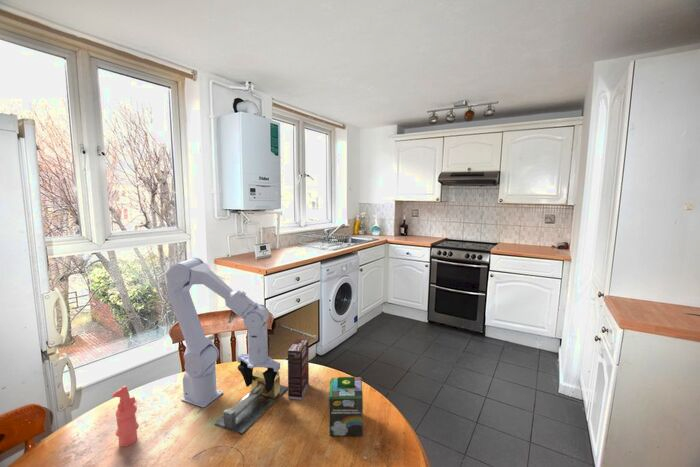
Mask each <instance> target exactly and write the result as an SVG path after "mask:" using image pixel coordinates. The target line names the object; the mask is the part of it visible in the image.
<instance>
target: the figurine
mask: <svg viewBox="0 0 700 467" xmlns="http://www.w3.org/2000/svg"><path fill="white" fill-rule="evenodd" d="M115 397H116V398H119V403H118V404H117V409H116V411H115V417H116V426H117V429H116V430H115V436H116V437H118V438H117V439H118V446H119V447H122V448H125V447H129V446H131V445H133V444H134V443H135V442H136V441H137V439H138V431H137V430H138V429H139V428H140V424H139V423H138V422H137V421H138V420H137V417H136V413H137V409H138V408H137V405H136V402H137V401H136V397H135V396H131V395H130V393H129V390H128V385H123V386H122V387H121V388H119V389H118V390H116V391H115V392H114V393H112V395H111V398H115Z"/></svg>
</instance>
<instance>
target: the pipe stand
mask: <svg viewBox="0 0 700 467" xmlns="http://www.w3.org/2000/svg"><path fill="white" fill-rule="evenodd" d="M276 375H277V376H280V372H279V371H278V372H277V374H276ZM264 391H266V383H265V382H263V381H261V382H260V383H259V384H258V385H257V386H256V387H255V388H254V389H253V390H250V391H249V392H248V393H247V394H246V395H244V396H243V397H242V398H241V399H239V400H238V402H236V403H234V405H233V406H231V407H230V408H225V410H223V415H222V416H221V417H220V418H219V419H217V420H216V422H214V425H215V426H217V427H220V428H223V429H225V430H228V431H231V432H233V433H237V434H240V435H244V434H245V433H246V431H247V430H248V429H249V428H250V427H252V425H253V424H254V423H256V421H257V420H259V419H260V417H262V415H264V414H265V412H266V411H267V410H268V409H269V408H270V407H271V406H272V405H273V404H274V403H275V402H276V401H277V400H278V399H279V398H280V397H281V396H282V395H283V394H284V393H285V392H286V391H288V386H286V385H282V384H280V393H279V394H278V395H277V396H276V397H275V398H272V397H269V396H265V395H262V393H263V392H264Z"/></svg>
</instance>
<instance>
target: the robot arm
mask: <svg viewBox="0 0 700 467" xmlns="http://www.w3.org/2000/svg"><path fill="white" fill-rule="evenodd" d="M165 277H166V279H167V286H166V287H167V289H166V290H167V295H168V298H169V301H170V303H171V305H172V309H173V312H174V314H175V317H176V319H177V323H178V325H179V328H180V330H181V333H182V337H183V339H184V342H185V344H186V348H185V351H184V353H183V359H184V371H185V372H184V373H183V377H182V390H183V397H181V401H183V402H186V403H189V404H192V405H195V406H198V407H201V408H205V407H207V406H208V405H209V404H210V403H212V402H213V401H214V400H216V399H217V398H219V397H220V396H221V395H222V394H223V393H224V391H223V390H221V389H218V388H217V387H218V386H217V374H216V373H217V371H216V361H217V360H218V358H219V357H220V351H219V349H218V348H217V346H216V345H215V344H214V343H213V340H212V339H211V338H208V337H207V336H206V335H205V332H204V329H203V326H202V324H201V321H200V318H199V316H198V313H197V309H196V307H195V304H194V301H193V298H192V296H191V293H190V289H191V288H192V286H193V285H204V286H205V287H206V288H208V289H209V290H211V291H212V292H213V293H215V294H216V295H217V296H220V297H221V298H223V299H224V300H225V301H224V302H225V307H227V308H228V309H230V310H231V311H232V312H233V313H235V314H236V315H237V316H238V317H240V318H241V319H242V321H243V325H244V327H245V328H246V330H247V353H246V354H245V353H240V354H239V355H238V356H237V363H240V364H239V365H238V366H237V370H238V371H239V372H240V374H241V376H242V378H243V380H244V384H245V386H246V387H247V388H248V387H250V386H251V384H252V381H253V373H254V369H255V368H265V369H266V370H265V371H263V372H264V373H263V376H264V378H265V383H266V392H270V391H271V390H272V388H273V383H274V380H275V377H276V374H277V372H279V370H280V369H281V362H278V361H276V360H274V359H272V357H270V356H269V353H268V352H269V348H268V344H269V343H268V323H267V321H268V320H269V317H270V310H269V309H268V307H266V305H265V304H263V303H262V304H261V303H258V302H254V301H253V299H251V298H249V297H248V295H247V293H246V292H245V291H243V290H242V291H241V290H237V289H236V290H234V289H233V288H231V286H229V285H228V284H227V283H226V282H224V280H222V279H221V278H220V277H219V276H218V275H217V274H216V273H215V272H214V271H212V269H211V268H210V266H209V264H208V263H206V262H204V261H203V260H202V259H201V258H200V257H191V258H189V259H186V260H184V261H179V262H176V263H174V264H172V265H171V266H170V267H169V268H168V270H167V272H166V273H165Z"/></svg>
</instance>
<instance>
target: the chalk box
mask: <svg viewBox="0 0 700 467" xmlns="http://www.w3.org/2000/svg"><path fill="white" fill-rule="evenodd" d="M362 379H363V377H361V376H338V377H332V378H330V381H329V391H328V418H329V419H328V424H329V436H330V437H334V436H335V437H343V436H344V437H363V435H364V423H363V422H364V421H363V420H364V412H363V410H364V408H363V407H364V405H363V403H364V401H363V400H364V395H363V380H362Z"/></svg>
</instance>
